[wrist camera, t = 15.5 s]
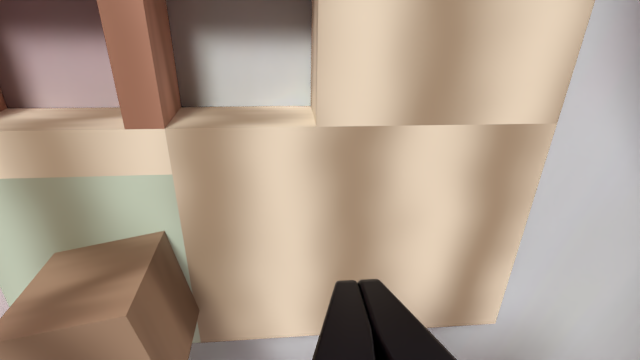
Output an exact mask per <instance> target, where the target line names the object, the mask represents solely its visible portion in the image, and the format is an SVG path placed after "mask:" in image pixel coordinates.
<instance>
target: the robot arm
mask: <svg viewBox="0 0 640 360" xmlns="http://www.w3.org/2000/svg"><path fill="white" fill-rule="evenodd" d="M312 360H457V359H456V358H455V357H454V356H453V355H452V354H451V353H450V352H449V351H448V350H447V349H446V348H445V347H444V346H443V345H442V344H441V343H440V342H439V341H438V340H437V339H436V338H435V337H434V336H433V335H432V334H431V332H430V331H429V330H428V329H427V328H426V327H425V326H424V325H423V324H422V323H421V322H420V321H419V320H418V319H417V318H416V317H415V316H414V315H413V314H412V313H411V312H410V311H409V310H408V309H407V308H406V307H405V306H404V305H403V303H402V302H401V301H400V300H399V299H398V298H397V297H396V296H395V295H394V294H393V293H392V292H391V291H390V290H389V289H388V288H387V287H386V286H385V285H384V284H383V283H382V282H381V281H380V280H378V279H361V280H359V281H358V282H357V281H355V280H340V281H337V282H336V283H335V286H334V289H333V292H332V296H331V299H330V302H329V306H328V309H327V312H326V315H325V319H324V322H323V325H322V329H321V332H320V335H319V339H318V342H317V345H316V349H315V352H314V355H313V359H312Z"/></svg>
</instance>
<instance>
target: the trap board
mask: <svg viewBox="0 0 640 360" xmlns="http://www.w3.org/2000/svg"><path fill="white" fill-rule="evenodd" d="M594 2H595V0H312V23H311V106H249V107H181V102H180V95H179V88H178V81H177V74H176V68H175V61H174V54H173V47H172V40H171V33H170V26H169V19H168V13H167V6H166V0H97V5H98V9H99V14H100V18H101V23H102V27H103V32H104V37H105V41H106V46H107V50H108V55H109V59H110V64H111V69H112V73H113V78H114V82H115V87H116V91H117V96H118V101H119V105H120V108H12V109H7V107H6V104H5V101H4V98H3V95H2V92H1V90H0V288H1V290H2V292H3V294H4V296H5V299H6V301H7V303H8V305H9V307H10V306H11V305H12V304H13V303H14V301H15V300H16V299H17V298H18V297H19V295H20V294H21V293H22V292H23V291H24V289H25V288H26V287H27V286H28V284H29V283H30V282H31V281H32V280H33V278H34V277H35V276H36V275H37V273H38V272H39V271H40V270H41V269H42V267H43V266H44V265H45V264H46V263H47V261H48V260H49V259H50V258H51V256H52V255H53V254H54V253H57V252H61V251H66V250H71V249H76V248H81V247H86V246H91V245H96V244H101V243H106V242H111V241H116V240H121V239H126V238H131V237H136V236H141V235H145V234H150V233H155V232H160V231H165V233H166V235H167V238H168V240H169V242H170V244H171V247H172V249H173V251H174V253H175V256H176V258H177V260H178V262H179V265H180V267H181V269H182V271H183V274H184V276H185V278H186V281H187V283H188V285H189V287H190V290H191V292H192V294H193V296H194V299H195V301H196V303H197V305H198V308H199V310H200V311H199V316H198V320H197V324H196V328H195V333H194V337H193V341H192V343H204V342H220V341H235V340H250V339H266V338H281V337H296V336H311V335H320V332H321V329H322V325H323V322H324V319H325V315H326V312H327V309H328V306H329V302H330V299H331V296H332V292H333V289H334V286H335V283H336V282H337V281H340V280H355V281H357V282H358V281H359V280H361V279H378V280H380V281H381V282H382V283H383V284H384V285H385V286H386V287H387V288H388V289H389V290H390V291H391V292H392V293H393V294H394V295H395V296H396V297H397V298H398V299H399V300H400V301H401V302H402V303H403V305H404V306H405V307H406V308H407V309H408V310H409V311H410V312H411V313H412V314H413V315H414V316H415V317H416V318H417V319H418V320H419V321H420V322H421V323H422V324H423V325H424V326H425V327H426V328H434V327H449V326H464V325H479V324H495V322H496V319H497V316H498V313H499V309H500V306H501V303H502V300H503V296H504V293H505V290H506V287H507V283H508V280H509V277H510V274H511V271H512V267H513V264H514V261H515V258H516V254H517V251H518V248H519V245H520V241H521V238H522V235H523V232H524V229H525V225H526V222H527V219H528V216H529V212H530V209H531V206H532V203H533V199H534V196H535V193H536V190H537V187H538V183H539V180H540V177H541V174H542V170H543V167H544V164H545V161H546V157H547V154H548V151H549V148H550V145H551V141H552V138H553V135H554V132H555V128H556V125H557V122H558V119H559V115H560V112H561V109H562V106H563V103H564V99H565V96H566V93H567V90H568V86H569V83H570V80H571V77H572V73H573V70H574V67H575V64H576V61H577V57H578V54H579V51H580V48H581V44H582V41H583V38H584V35H585V31H586V28H587V25H588V22H589V19H590V15H591V12H592V9H593V6H594Z"/></svg>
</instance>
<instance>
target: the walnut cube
mask: <svg viewBox="0 0 640 360" xmlns="http://www.w3.org/2000/svg"><path fill="white" fill-rule="evenodd" d="M199 311H200V310H199V308H198V305H197V303H196V301H195V299H194V296H193V294H192V292H191V290H190V287H189V285H188V283H187V281H186V278H185V276H184V274H183V271H182V269H181V267H180V265H179V262H178V260H177V258H176V256H175V253H174V251H173V249H172V247H171V244H170V242H169V240H168V238H167V235H166V233H165V231H160V232H155V233H150V234H145V235H141V236H136V237H131V238H126V239H121V240H116V241H111V242H106V243H101V244H96V245H91V246H86V247H81V248H76V249H71V250H66V251H61V252H57V253H54V254H53V255H52V256H51V258H50V259H49V260H48V261H47V263H46V264H45V265H44V266H43V267H42V269H41V270H40V271H39V272H38V273H37V275H36V276H35V277H34V278H33V280H32V281H31V282H30V283H29V284H28V286H27V287H26V288H25V289H24V291H23V292H22V293H21V294H20V295H19V297H18V298H17V299H16V300H15V301H14V303H13V304H12V305H11V306H10V308H9V309H8V310H7V311H6V312H5V314H4V315H3V316H2V317H1V319H0V360H188V358H189V354H190V350H191V345H192V341H193V337H194V333H195V328H196V324H197V320H198V316H199Z"/></svg>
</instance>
